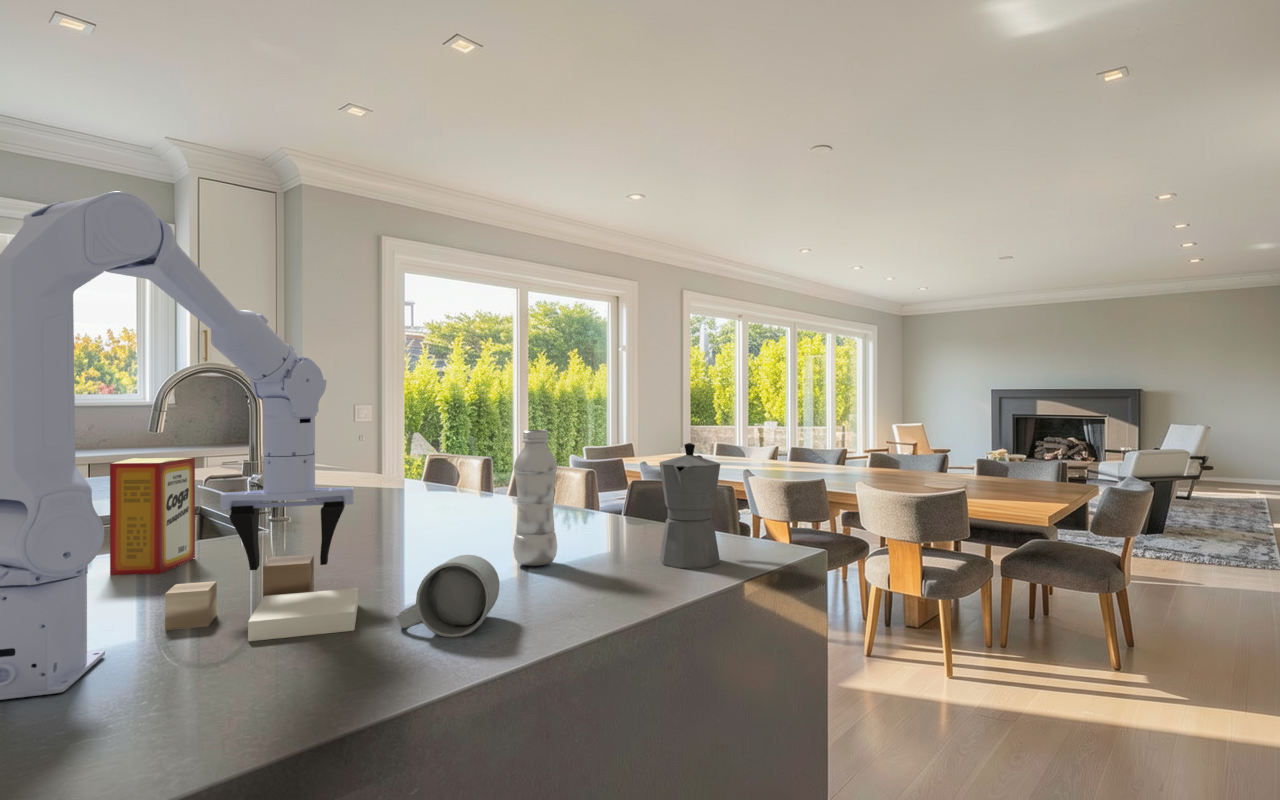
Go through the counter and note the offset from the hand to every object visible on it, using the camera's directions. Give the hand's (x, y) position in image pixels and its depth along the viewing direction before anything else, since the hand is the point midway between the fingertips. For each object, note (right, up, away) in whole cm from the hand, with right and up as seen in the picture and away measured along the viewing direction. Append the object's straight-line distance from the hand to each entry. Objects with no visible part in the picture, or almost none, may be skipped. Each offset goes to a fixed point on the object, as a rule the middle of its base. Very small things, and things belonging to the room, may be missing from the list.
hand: (289, 565), depth 86 cm
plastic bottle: (+27, -4, +18) cm, 33 cm away
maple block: (-7, -4, -9) cm, 12 cm away
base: (+6, -4, -9) cm, 11 cm away
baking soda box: (-29, -4, +17) cm, 34 cm away
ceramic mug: (+22, -5, -10) cm, 25 cm away
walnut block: (0, -4, 0) cm, 4 cm away
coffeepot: (+51, -4, +21) cm, 55 cm away
